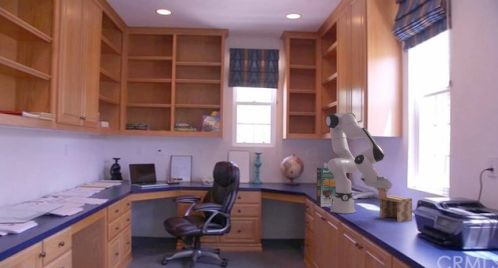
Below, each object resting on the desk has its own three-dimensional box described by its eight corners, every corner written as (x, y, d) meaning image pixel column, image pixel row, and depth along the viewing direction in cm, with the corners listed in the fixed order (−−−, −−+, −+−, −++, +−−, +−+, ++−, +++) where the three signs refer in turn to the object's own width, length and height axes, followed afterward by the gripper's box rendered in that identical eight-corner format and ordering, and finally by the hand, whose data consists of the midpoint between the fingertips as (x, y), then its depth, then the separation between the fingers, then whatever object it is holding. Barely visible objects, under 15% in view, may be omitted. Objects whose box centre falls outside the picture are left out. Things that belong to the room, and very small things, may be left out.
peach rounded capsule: (378, 197, 249) (378, 183, 249) (386, 197, 248) (386, 184, 248) (378, 198, 244) (378, 184, 245) (386, 198, 243) (386, 184, 243)
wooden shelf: (398, 221, 241) (399, 199, 242) (379, 217, 256) (379, 196, 256) (411, 220, 247) (412, 198, 247) (392, 215, 261) (392, 195, 261)
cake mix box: (339, 204, 309) (340, 167, 310) (344, 205, 303) (344, 167, 304) (316, 205, 301) (316, 167, 302) (320, 206, 295) (321, 168, 296)
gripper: (387, 173, 234) (398, 188, 238) (363, 171, 252) (374, 185, 256) (382, 181, 232) (393, 196, 236) (358, 178, 250) (369, 192, 254)
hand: (383, 190), depth 246 cm, fingers closed on peach rounded capsule, 5 cm apart
